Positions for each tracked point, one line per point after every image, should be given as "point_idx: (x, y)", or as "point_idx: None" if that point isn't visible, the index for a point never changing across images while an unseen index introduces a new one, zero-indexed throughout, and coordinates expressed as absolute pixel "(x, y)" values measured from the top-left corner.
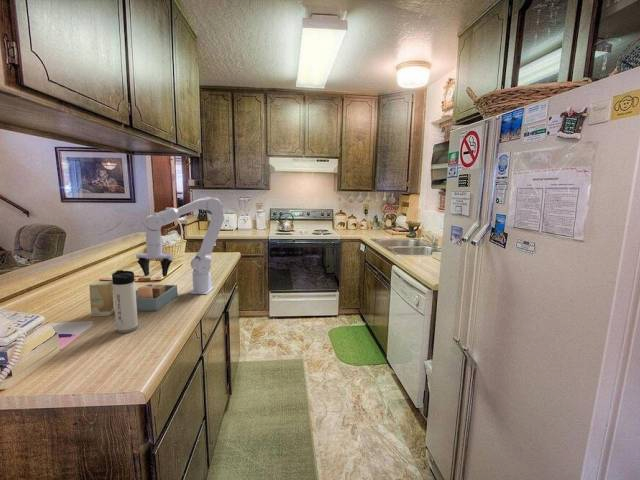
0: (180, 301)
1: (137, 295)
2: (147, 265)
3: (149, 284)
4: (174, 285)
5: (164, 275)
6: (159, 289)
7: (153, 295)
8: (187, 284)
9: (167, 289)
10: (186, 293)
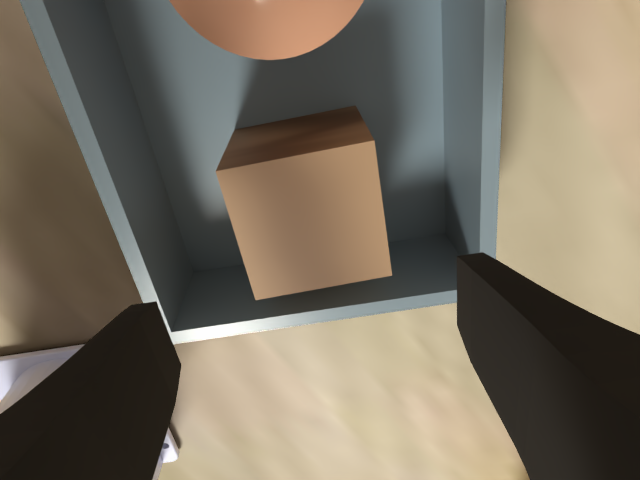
0: (54, 173)
1: (461, 61)
2: (548, 469)
3: None
4: (179, 332)
5: (114, 319)
6: (218, 166)
7: (299, 129)
8: (296, 474)
9: None
10: None
